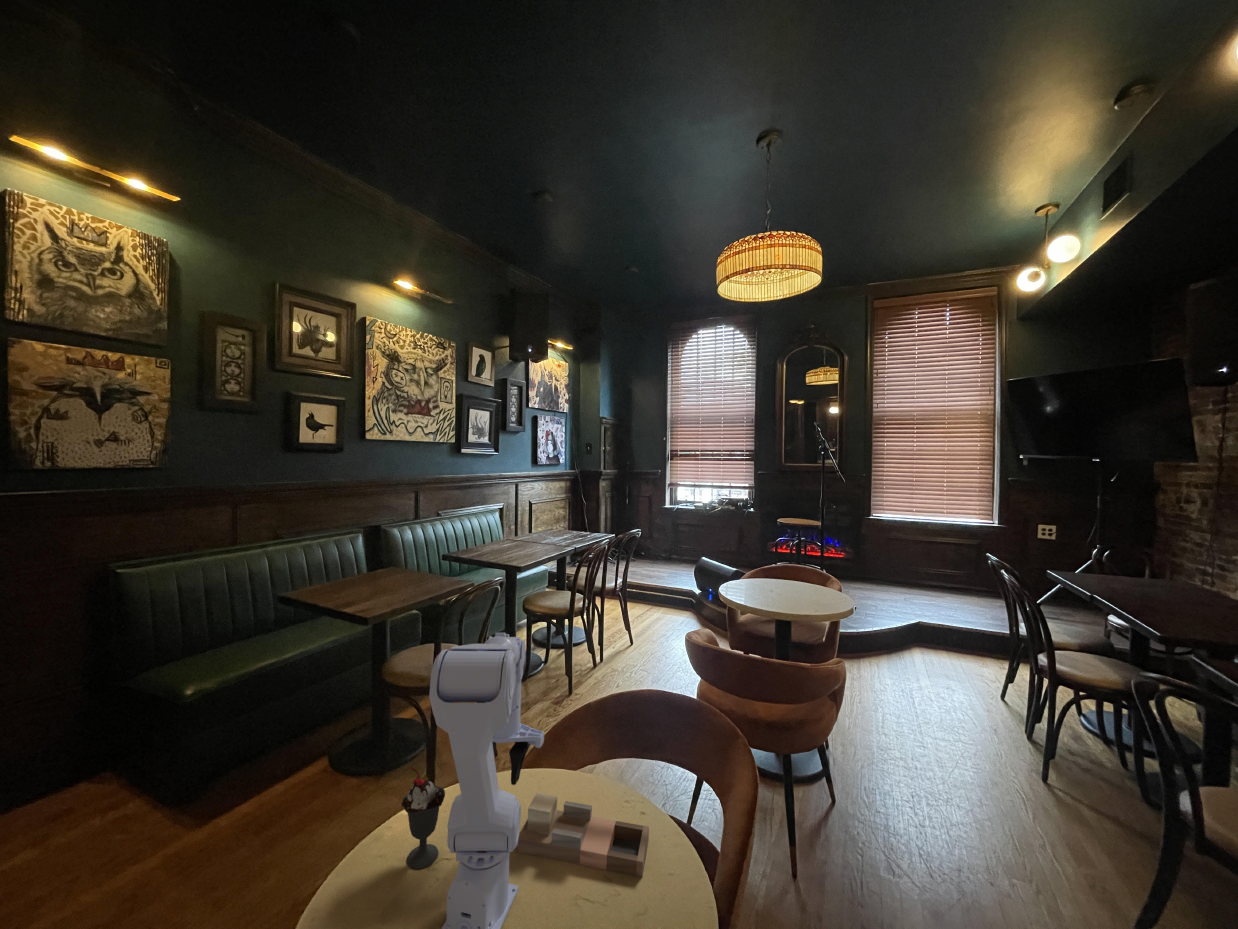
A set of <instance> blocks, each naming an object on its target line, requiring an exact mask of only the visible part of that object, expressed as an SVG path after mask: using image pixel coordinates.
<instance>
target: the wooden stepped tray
mask: <svg viewBox="0 0 1238 929" xmlns="http://www.w3.org/2000/svg"><path fill="white" fill-rule="evenodd" d="M592 813H593V806H592V805H590V804H586V803H585V804H584V803H578V802H574V801H568V800H565V801H564V803H563V810H558V809H557V819H556V821H555V823H554V826H553V828H552V830H551V833H550V835H547V834H542V833H536V832H531V831H527V828H528V818H527V819H526V821H525V822H524V825H523V827H522V828H521V831H520V832H519V838H518V844H517V853H519V854H520V853H521V854H525V855H530V856H536V857H540V858H545V859H550V860H555V861H561V862H565V863H571V864H574V865H575V864H576V865H580V866H586V867H589V868H590V867H591V868H595V869H599V870H605V871H610V872H614V873H615V872H616V873H621V874H625V875H631V876H635V877H640V878H643V876H644V870H645V864H646V857H647V852H648V846H649V841H650V826H646V825H642V824H641V825H640V824H636V823H631V822H630V823H629V822H625V821H619V820H614V819H607V818H603V817H597V816H593V814H592Z"/></svg>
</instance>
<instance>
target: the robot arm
mask: <svg viewBox="0 0 1238 929" xmlns="http://www.w3.org/2000/svg"><path fill="white" fill-rule="evenodd" d="M521 639H522V638H521V637H520V636H510V634H508V633H506V632H495V633H494V636H492V635H490V636H489V637H488V639H487V640H486V641H485V642H484V643H469V644H464V645H456V646H452V647H450V648H449V649H442V650H441V651H440V652H439V653H438V655H437V654H436V657H435V659H434V662H433V664H432V668H431V673H430V681H429V683H430V684H429V694H428V695H429V701H430V705H431V710H432V715H433V717H434V720H435V721H434V722H435V724H436V726H437V727H439V728H440V729H441V730H443V731H444V732H446V733H447V734H448V738H449V739H448V740H449V744H450V748H451V753H452V758H453V761H454V762H453V763H454V766H455V772H456V775H457V781H458V784H459V789H460V794H458V795H456V796H455V797H454V800H453V801H452V803H451V804H452V805H451V807H450V811H449V816H448V821H447V842H446V843H447V847H448V849H449V851H450V853H452V854H455V861H456V862H458V866H457V870H456V874H455V877H454V878H453V880H452V882H451V885H450V886H449V888H448V891H447V895H446V920H445V922H444V924H443V926H442V927H441V929H502V927H503V925H504V922H505V920H506V918H507V916H508V913H509V911H510V908H511V906H512V905H513V902H514V900H515V898H516V896H517V893H518V891H519V886H518V885H517V884H513V883H510V880H509V878H510V853H511V852H512V853H513V852H514V850H515V849H516V848H518V838H519V835H520V827H521V813H522V805H521V803H520V802H519V799H517V795H515V794H513V793H511V792H507V791H505V790H502V789H500V787H499V782H498V774H497V767H496V748H497V743H498V744H507V743H514V744H513V745H512V747H511V748H510V750H509V751H508V753H509V759H510V765H511V766H510V767H511V768H510V769H511V772H510V773H511V774H510V785H511V786H515V785H517V783H518V781H519V779H520V775H521V769H522V767H523V763H524V760H525V758H526V755H527V754H528V751H529V749H530V746H531V745H533V746H534V747H535V748H537V749H541V747H542V746H543V744H544V743H545V742H544V741H545V731H544V730H539V729H537V728H533V727H531V726H529V725H526V724H524V723H521V711H522V710H521V709H522V708H521V706H522V702H521V701H522V679H523V675H524V666H525V660H526V641H525V639H523V640H521Z"/></svg>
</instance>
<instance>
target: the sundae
mask: <svg viewBox="0 0 1238 929" xmlns="http://www.w3.org/2000/svg"><path fill="white" fill-rule="evenodd" d="M411 770H412V771H414V772H415V773H416V775H417V777H416V778H415V779H414V780H413V782H412V784H413V785H412V786H411V788H410V789H409V790H408V793H407V794H406V795H405V796H404V797H403V798H402V802H401V807H403V809H404V811H405V812H406V813H407V817H408V826H409V831H410V833H411V836H412V837H413V838H415V839H416V840H419V844H418V846H416V847H415V848H413V849H412V850H411V851H410V852H409V854H408V855H407V857H406V864H407V866H408V867H409V868H410V869H413V870H414V869H415V870H421V869H425V868H427V867H429V866H431V865H432V864H434V863H435V861H436V860H437V859H438V857H439V849H438V847H437V846H436V845H434V844H432V843H431V844H430V843H428V838H429V837H430V836H431V835H432V834H433V833H434V832H435V830H436V827H437V823H438V818H439V811H440V807H441V806H442V804H443V802H444V800H445V797H446V791H445V789H444V788H443V787H441V786H439V785H435V784H434V783H433V782H432V781H430V780H428V779H423V778H421V777H420V773H419V772H418V770H416V767H411Z"/></svg>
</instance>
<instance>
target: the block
mask: <svg viewBox="0 0 1238 929" xmlns="http://www.w3.org/2000/svg"><path fill="white" fill-rule="evenodd" d="M557 810H558V795H554V794H553V795H552V794H547V793H542V792H535V794H534V796H533V798H532V800H531V802H530V804H529V806H528V808H527V819H528V828H527V831H531V832H536V833H542V834H547V835H550V833H551V830H552V828H553V826H554V823H555V821H556V819H557Z"/></svg>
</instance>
